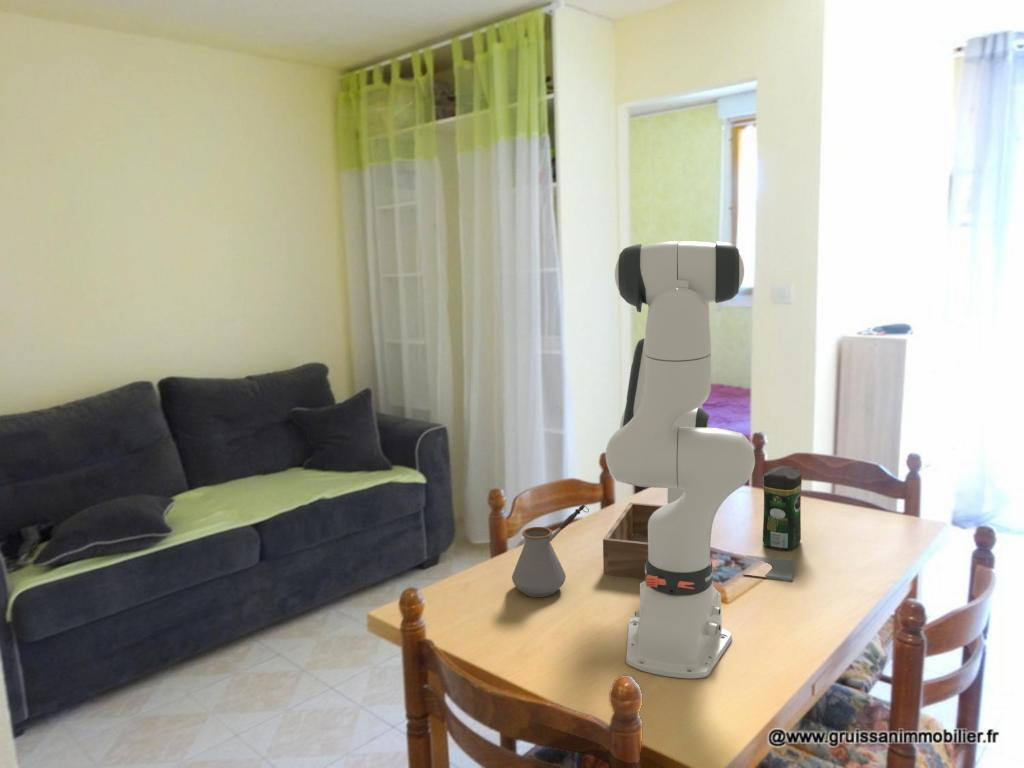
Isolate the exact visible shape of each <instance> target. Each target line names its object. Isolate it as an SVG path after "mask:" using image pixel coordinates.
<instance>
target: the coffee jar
mask: <svg viewBox="0 0 1024 768" xmlns="http://www.w3.org/2000/svg"><path fill="white" fill-rule="evenodd" d="M762 477H763V481H762V484H763V485H762V487H763V489H762V490H763V522H762V523H763V526H762V543H763V544H764V545H765V546H767V547H769V548H771V549H773V550H774V549H775V550H779V551H781V550H788V551H789V550H793V549H795V548H796V547H797V546H798V545H799V544H800V542H801V539H802V538H801V537H802V535H801V534H802V530H801V529H802V528H801V527H802V524H801V523H802V522H801V514H802V513H801V512H802V510H801V502H802V500H801V499H802V498H801V497H802V473H801V471H799V470H798V469H797V467H792V466H787V465H779V466H776V467H774V468H772V469H769V470H768V471H767V472H765V473H764V474H763V476H762Z"/></svg>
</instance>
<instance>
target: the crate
mask: <svg viewBox="0 0 1024 768" xmlns="http://www.w3.org/2000/svg"><path fill="white" fill-rule="evenodd" d="M662 506H664V505H663V504H662V505H661V504H651V503H638V502H628V505H627V506H626V507H625V509H624V510H623V511H622V513H621V514H620V515H619V517H618V518H617V520H616V521H615V523H614V524H613V525H612V526H611V528H610V529H609V530H608V532H607V534H606V535H605V536H604V537H603V539H602V555H603V556H602V559H603V562H602V563H603V565H602V566H603V574H604V575H609V576H610V575H611V576H618V577H624V578H625V577H626V578H634V579H642V580H643V579H644V580H645V564H646V558H647V556H648V542H645V541H644V542H643V541H636V540H631V539H632V537H633V536H636V535H637V536H645V537H648V522H649V519H650V517H651V515H652V514H653V513H654V512H655V511H656V510H657V509H659V508H661V507H662Z"/></svg>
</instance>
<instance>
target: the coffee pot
mask: <svg viewBox="0 0 1024 768" xmlns="http://www.w3.org/2000/svg"><path fill="white" fill-rule="evenodd" d="M584 509H586V510H587V511H585V510H584ZM581 511H583V512H584V513H589V512H590V510H589V508H588V507H587V506H586V505H585V504H582V505H580V506H579V507H578V508H576V509H575V510H574V512H573V513H571V514H570V515H569V516H568V517H567V518H566V519H565V520H564V521H563V522H562V523H561V525H560V526H559V527H558V528H557V529H556V530H555V531H554V532H553V530H552V529H550V528H549V527H544V526H531V527H528V528H525V529H523V531H522V532H521V534H522V535H521V536H523V538H524V541H525V543H524V545H523V547H522V550H521V552H520V555H519V557H518V560H517V562H516V565H515V568H514V571H513V573H512V576H511V579H512V583H513V584H514V586H515V587H516V588H517V589H518V590H519V591H520V592H521V593H522V594H524V595H526V596H528V597H533V598H543V597H549V596H552V595H554V594H556V592H557V591H558V590H559V589H560V588H561V587H562V586H563V585H564V583H565V581H566V572H565V570H564V569H563V566H562V564H561V561H559V558H558V556H557V554H556V552H555V549H554V547H553V545H552V544H551V542H552V541H553V539H554V538H556V536H557V535H558V534H559V533H561V531H563V530H564V529H565V528H566V527H567V526H569V524H571V523H572V522H573V521H574V520H575V518H576V517H577V516H578V515H581Z"/></svg>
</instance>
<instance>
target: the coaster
mask: <svg viewBox="0 0 1024 768" xmlns="http://www.w3.org/2000/svg"><path fill="white" fill-rule="evenodd" d="M746 557H748V558H751V559H756V560H758V561H763V562H765V563H768V564H770V565H771V566H772V569H771V570H770V571H769V572H768V573H767V574H766V575H765V576H766V577H767V578H766V579H769V580H770V579H771V580H780V581H787V582H793V577H794V576H793V574H794V559H785V558H777V557H776V558H775V557H767V556H766V557H765V556H758V555H746Z"/></svg>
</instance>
